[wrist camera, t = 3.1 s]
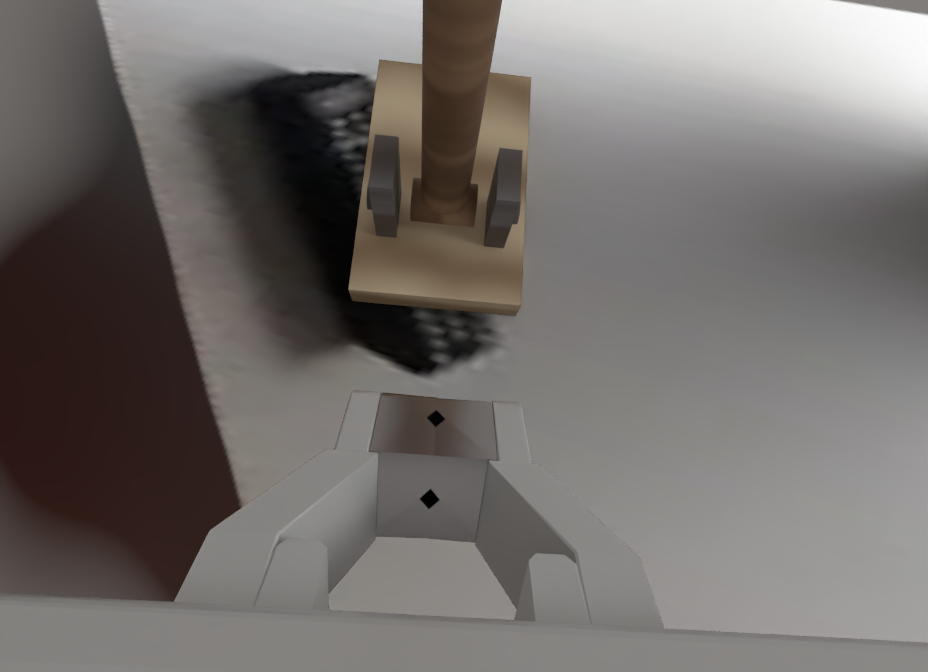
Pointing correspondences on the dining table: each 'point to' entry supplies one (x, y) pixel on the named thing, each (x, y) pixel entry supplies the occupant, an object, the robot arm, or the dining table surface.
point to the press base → (438, 245)
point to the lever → (452, 107)
